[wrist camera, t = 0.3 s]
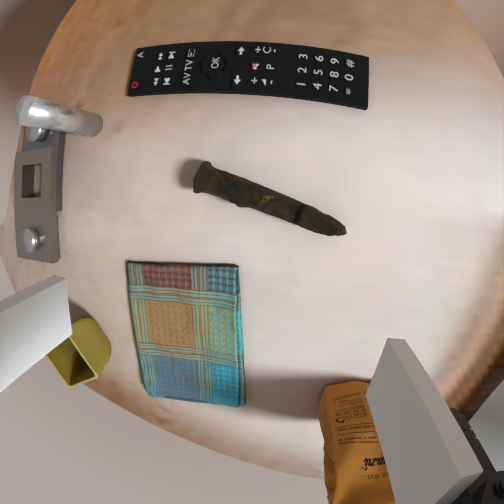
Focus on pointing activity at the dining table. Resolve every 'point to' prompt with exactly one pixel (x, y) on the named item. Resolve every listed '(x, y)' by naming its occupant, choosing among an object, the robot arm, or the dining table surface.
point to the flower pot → (81, 353)
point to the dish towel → (188, 330)
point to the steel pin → (56, 116)
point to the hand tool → (264, 200)
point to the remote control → (252, 71)
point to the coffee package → (352, 447)
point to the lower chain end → (40, 140)
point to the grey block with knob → (37, 207)
